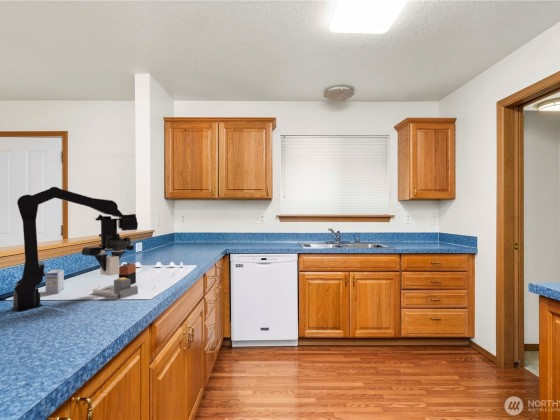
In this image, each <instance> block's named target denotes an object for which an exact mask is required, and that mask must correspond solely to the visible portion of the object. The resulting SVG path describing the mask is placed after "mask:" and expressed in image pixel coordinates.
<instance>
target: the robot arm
mask: <svg viewBox="0 0 560 420" xmlns="http://www.w3.org/2000/svg"><path fill="white" fill-rule="evenodd" d="M53 199H58V200H61V201H65V202H68V203H69V202H70V203H73V204H75V205H76V204H77V205H80V206H84V207H89V208H90V209H93V210H94V211H96V212H99V213H102V214H103V215H102V214H99V215H97V217H95V219H94V220H95V221H99V222H100V234H98V238H100V243H99V245H98V246H87V247H86V246H85V247H83V248H82V249H81V255H83V256H90V257H94V258H95V259H96V260H97V262H98V264H99V265H100V266H101V267H102V269H103V271H106V257H107V256H109V255H108V253H107V254H106V252H111V256H119V261H120V259H121V258H122V256H123V255H124V254H125V253H127V251H133V250H135V245H134V243H133V242H132V241H131V238H130V237H129V236H128V237H127V236H126V237H124V238H121V236H120V233H118V229H120V231H122V232H123V231H137V230H138V225H139V223H138V218H137V213H130V214H123V212H121V210H119V209H118V208H119V207H118V204H117V202H115V201H114V200H112V199H111V200H110V199H104V198H95V197H90V196H87V195H83V194H79V193H76V192H72V191H69V190H66V189H62V188H60V187H57V186H52V187H49V188H48V189H46V190H43V191H40V192H37V193H35V194H23V195H21V196H20V197H18V199H17V202H16V203H17V207H18V211H19V214H20V217H21V219H22V227H23V228H22V230H23V245H24V247H23V248H24V265H23V271H22V278H21V279H20V280H18V281H17V282H16V283H15V285H14V291H13V292H12V297H13V299H12V300H13V303H12V304H13V306H11V308H10V309H12V310H13V311H17V312H23V311H27V310H31V309H35V308H38V307H41V306H42V304H41V292H40V291H39V288H37V286H39V285H40V284H41V283H42V282H43V280H44V277H45V274H46V271H45V265H46V264H45V262H40V259H39V250H38V235H37V234H38V233H37V218H38V217H37V216H38V210H39V205H41V204H44V203H46V202H48V201H51V200H53ZM112 217H115V218H112ZM101 267H100V268H101Z"/></svg>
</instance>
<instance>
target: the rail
mask: <svg viewBox="0 0 560 420" xmlns="http://www.w3.org/2000/svg"><path fill="white" fill-rule="evenodd" d="M138 290H139V286H138V285H133V286H131V287H129V288H125V289H121V290H117V291H118V293H114V284H113V285H111V284H110V285H108V289H105V290H104V289H103V290H102V289H96V288H94V289H92V294H95V295H99V296H104V297H110V298H115V299H119V300H121V299H124V298H128V297H132V296H134V295H138V294H139V291H138Z"/></svg>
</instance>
